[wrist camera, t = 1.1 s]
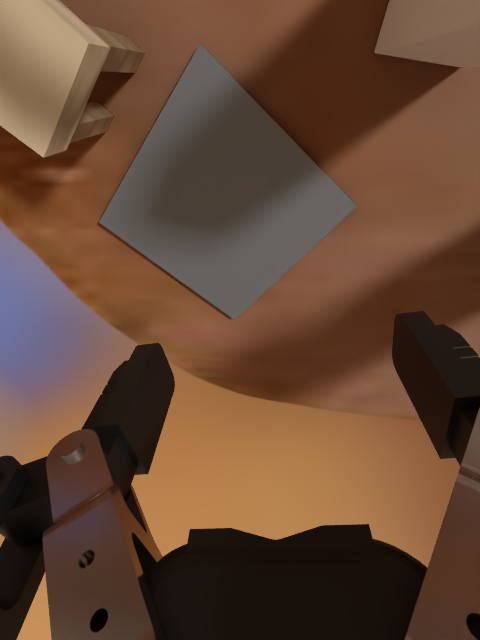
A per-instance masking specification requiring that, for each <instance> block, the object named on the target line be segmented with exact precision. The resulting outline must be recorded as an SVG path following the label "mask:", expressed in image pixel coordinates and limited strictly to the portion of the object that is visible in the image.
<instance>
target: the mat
mask: <svg viewBox="0 0 480 640" xmlns="http://www.w3.org/2000/svg"><path fill="white" fill-rule="evenodd" d="M356 207H357V206H356V205H355V204H354V202H353V201H352V200H351V199H350V198H349V197H348V196H347V195H346V194H345V193H344V192H343V191H342V190H341V189H340V188H339V187H338V186H337V185H336V184H335V183H334V182H333V181H332V180H331V179H330V178H329V177H328V175H327V174H326V173H325V172H324V171H323V170H322V169H321V168H320V167H319V166H318V165H317V164H316V163H315V162H314V161H313V160H312V159H311V158H310V157H309V156H308V155H307V154H306V153H305V152H304V151H303V150H302V148H301V147H300V146H299V145H298V144H297V143H296V142H295V141H294V140H293V139H292V138H291V137H290V136H289V135H288V134H287V133H286V132H285V131H284V130H283V129H282V128H281V127H280V126H279V125H278V124H277V123H276V121H275V120H274V119H273V118H272V117H271V116H270V115H269V114H268V113H267V112H266V111H265V110H264V109H263V108H262V107H261V106H260V105H259V104H258V103H257V102H256V101H255V100H254V99H253V98H252V97H251V95H250V94H249V93H248V92H247V91H246V90H245V89H244V88H243V87H242V86H241V85H240V84H239V83H238V82H237V81H236V80H235V79H234V78H233V77H232V76H231V75H230V74H229V73H228V72H227V71H226V70H225V68H224V67H223V66H222V65H221V64H220V63H219V62H218V61H217V60H216V59H215V58H214V57H213V56H212V55H211V54H210V53H209V52H208V51H207V50H206V49H205V48H204V47H203V46H202V45H201V44H199V46H198V48H197V50H196V51H195V53H194V55H193V57H192V59H191V60H190V62H189V64H188V66H187V67H186V69H185V71H184V73H183V74H182V76H181V78H180V80H179V82H178V83H177V85H176V87H175V89H174V90H173V92H172V94H171V96H170V97H169V99H168V101H167V103H166V104H165V106H164V108H163V110H162V112H161V113H160V115H159V117H158V119H157V120H156V122H155V124H154V126H153V127H152V129H151V131H150V133H149V135H148V136H147V138H146V140H145V142H144V143H143V145H142V147H141V149H140V150H139V152H138V154H137V156H136V157H135V159H134V161H133V163H132V165H131V166H130V168H129V170H128V172H127V173H126V175H125V177H124V179H123V180H122V182H121V184H120V186H119V188H118V189H117V191H116V193H115V195H114V196H113V198H112V200H111V202H110V203H109V205H108V207H107V209H106V210H105V212H104V214H103V216H102V218H101V219H100V221H99V223H100V224H102V225H103V226H104V227H106V228H107V229H109V230H110V231H111V232H113V233H114V234H115V235H117V236H118V237H120V238H121V239H122V240H124V241H125V242H127V243H128V244H129V245H131V246H132V247H134V248H135V249H136V250H138V251H139V252H141V253H142V254H143V255H145V256H146V257H147V258H149V259H150V260H152V261H153V262H154V263H156V264H157V265H159V266H160V267H161V268H163V269H164V270H166V271H167V272H168V273H170V274H171V275H173V276H174V277H175V278H177V279H178V280H179V281H181V282H182V283H184V284H185V285H186V286H188V287H189V288H191V289H192V290H193V291H195V292H196V293H198V294H199V295H200V296H202V297H203V298H205V299H206V300H207V301H209V302H210V303H211V304H213V305H214V306H216V307H217V308H218V309H220V310H221V311H223V312H224V313H225V314H227V315H228V316H230V317H231V318H232V319H234V320H235V319H236V318H237V317H238V316H239V315H240V314H241V313H242V312H243V311H244V310H246V309H247V308H248V307H249V306H250V305H251V304H252V303H253V302H254V301H255V300H256V299H257V298H259V297H260V296H261V295H262V294H263V293H264V292H265V291H266V290H267V289H268V288H269V287H270V286H271V285H273V284H274V283H275V282H276V281H277V280H278V279H279V278H280V277H281V276H282V275H283V274H284V273H286V272H287V271H288V270H289V269H290V268H291V267H292V266H293V265H294V264H295V263H296V262H297V261H298V260H300V259H301V258H302V257H303V256H304V255H305V254H306V253H307V252H308V251H309V250H310V249H311V248H313V247H314V246H315V245H316V244H317V243H318V242H319V241H320V240H321V239H322V238H323V237H324V236H325V235H327V234H328V233H329V232H330V231H331V230H332V229H333V228H334V227H335V226H336V225H337V224H338V223H340V222H341V221H342V220H343V219H344V218H345V217H346V216H347V215H348V214H349V213H350V212H351V211H353V210H354V209H355V208H356Z"/></svg>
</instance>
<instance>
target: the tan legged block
mask: <svg viewBox="0 0 480 640" xmlns="http://www.w3.org/2000/svg"><path fill="white" fill-rule="evenodd" d="M144 54H145V53H144V52H143V51H142V50H141V49H140V48H139V47H138V46H136V45H135V44H134V43H133V42H132V41H131V40H130V39H129V38H128V37H127V36H124V35H121V34H118V33H114V32H111V31H108V30H104V29H101V28H98V27H94V26H91V25H88V24H84V23H83V22H82V21H81V20H80V19H79V18H78V17H77V16H76V15H75V14H74V13H73V12H71V11H70V10H69V9H68V8H67V7H66V6H65V5H64V4H63V3H62V2H61V1H60V0H0V126H2V127H3V128H4V129H6V130H7V131H8V132H10V133H11V134H12V135H14V136H15V137H16V138H18V139H19V140H20V141H22V142H23V143H24V144H26V145H27V146H28V147H30V148H31V149H32V150H34V151H35V152H36V153H38V154H39V155H40V156H42V157H43V158H45V157H48V156H51V155H54V154H57V153H60V152H63V151H66V150H67V148H68V145H69V143H72V142H75V141H79V140H82V139H85V138H88V137H92V136H95V135H98V134H102V133H105V132H107V129H108V127H109V125H110V123H111V121H112V119H113V117H114V116H113V115H112V114H111V113H110V112H109V111H108V110H106V109H105V108H104V107H103V106H102V105H100V104H99V103H98V102H92V103H87V101H88V99H89V97H90V94H91V92H92V90H93V87H94V85H95V83H96V80H97V78H98V76H99V73H100V71H108V72H126V73H135V72H136V70H137V68H138V66H139V64H140V62H141V60H142V58H143V56H144Z"/></svg>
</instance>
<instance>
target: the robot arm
mask: <svg viewBox="0 0 480 640" xmlns="http://www.w3.org/2000/svg"><path fill="white" fill-rule="evenodd" d="M392 358H393V363H394V367H395V369H396V372H397V374H398V376H399V378H400V380H401V382H402V384H403V386H404V388H405V390H406V392H407V394H408V396H409V398H410V400H411V401H412V403H413V405H414V407H415V409H416V411H417V413H418V415H419V417H420V419H421V421H422V423H423V425H424V427H425V429H426V431H427V433H428V435H429V437H430V439H431V441H432V443H433V445H434V447H435V449H436V451H437V453H438V455H439V457H440V459H443V458H444V459H445V458H456V459H457V461H458V463H459V465H460V470H459V473H458V476H457V479H456V482H455V485H454V488H453V491H452V494H451V498H450V500H449V504H448V507H447V510H446V513H445V517H444V519H443V522H442V525H441V529H440V532H439V535H438V538H437V541H436V544H435V547H434V550H433V553H432V556H431V560H430V563H429V566H428V568H427V567H426V566H425V565H423V564H422V563H421V562H420V561H418V560H417V559H415V558H414V557H412V556H411V555H409V554H408V553H406V552H404V551H402V550H400V549H399V548H397V547H395V546H392V545H390V544H387V543H385V542H382V541H379V540H375V539H372V535H371V531H370V527H369V524H362V525H325V526H319V527H316V528H313V529H310V530H307V531H304V532H301V533H298V534H295V535H292V536H289V537H285V538H283V539H279V540H272V539H268V538H265V537H261V536H258V535H254V534H250V533H246V532H243V531H240V530H236V529H232V528H217V529H190V532H189V538H188V544H186V545H183V546H181V547H179V548H177V549H175V550H173V551H171V552H170V553H168V554H167V555H165V556H164V557H162V555H161V553H160V551H159V549H158V547H157V546H156V543H155V541H154V540H153V537H152V535H151V532H150V530H149V527H148V524H147V522H146V519H145V517H144V514H143V511H142V509H141V506H140V504H139V501H138V499H137V496H136V494H135V491H134V489H133V487H132V485H131V483H132V480H133V477H134V475H139V474H148V472H149V469H150V466H151V463H152V460H153V456H154V453H155V450H156V447H157V443H158V441H159V437H160V434H161V431H162V428H163V425H164V421H165V418H166V415H167V412H168V408H169V405H170V402H171V398H172V396H173V392H174V387H175V382H174V376H173V373H172V370H171V368H170V365H169V363H168V361H167V358H166V356H165V353H164V351H163V348H162V346H161V345H160V344H159V343H153V344H145V345H138V346H136V348H135V349H134V351H133V353H132V355H131V357H130V359H129V360H128V361H124V362H123V363H122V364H121V365H120V366H119V367H118V368H117V369H116V370H115V371H114V372H113V374H112V376H111V378H110V379H109V381H108V385H106V387H105V388H104V390H103V392H102V393H103V394H102V395H100V397H99V399H98V401H97V402H96V404H95V406H94V408H93V410H92V412H91V413H90V415H89V417H88V419H87V420H86V422H85V424H84V426H83V427H82V429H81V430H78V431H75V432H72V433H70V434H69V435H67V436H65V437H64V438H63V439H61V440H60V441H59V442H58V443H57V444H56V445H55V446H54V447H53V448H52V450H51V451H50V453H49V455H48V456H47V457H44V458H41V459H39V460H36V461H33V462H30V463H27V464H25V465H21V464H20V463H19V462H18V461H17V460H16V459H15V458H14V457H12V456H2V457H0V534H2V535H3V536H4V537H5V540H4V541H3V543H2V545H1V547H0V640H16V639H17V637H18V634H19V632H20V630H21V627H22V625H23V623H24V620H25V618H26V615H27V613H28V611H29V608H30V606H31V604H32V601H33V599H34V597H35V594H36V592H37V590H38V587H39V585H40V582H41V580H42V578H43V575H44V573H45V572H46V583H47V594H48V604H49V616H50V626H51V637H52V640H480V358H479V357H478V354H477V353H476V352H475V351H474V350H473V348H470V345H469V344H468V343H467V341H466V340H465V339H464V338H463V337H462V336H461V335H460V334H459V333H458V332H456V331H454V330H452V329H451V328H449V327H447V326H446V325H434V323H433V322H432V321H431V319H430V318H429V317H428V316H427V314H426V313H425V312H424V311H418V312H410V313H402V314H397V315H396V317H395V322H394V334H393V347H392Z"/></svg>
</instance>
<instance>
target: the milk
mask: <svg viewBox="0 0 480 640" xmlns="http://www.w3.org/2000/svg"><path fill="white" fill-rule="evenodd" d="M374 53H376V54H382V55H388V56H394V57H400V58H406V59H412V60H418V61H424V62H430V63H436V64H442V65H448V66H454V67H460V68H465V67H480V0H389V3H388V6H387V10H386V13H385V17H384V20H383V23H382V27H381V30H380V33H379V37H378V40H377V44H376V47H375V50H374Z"/></svg>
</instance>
